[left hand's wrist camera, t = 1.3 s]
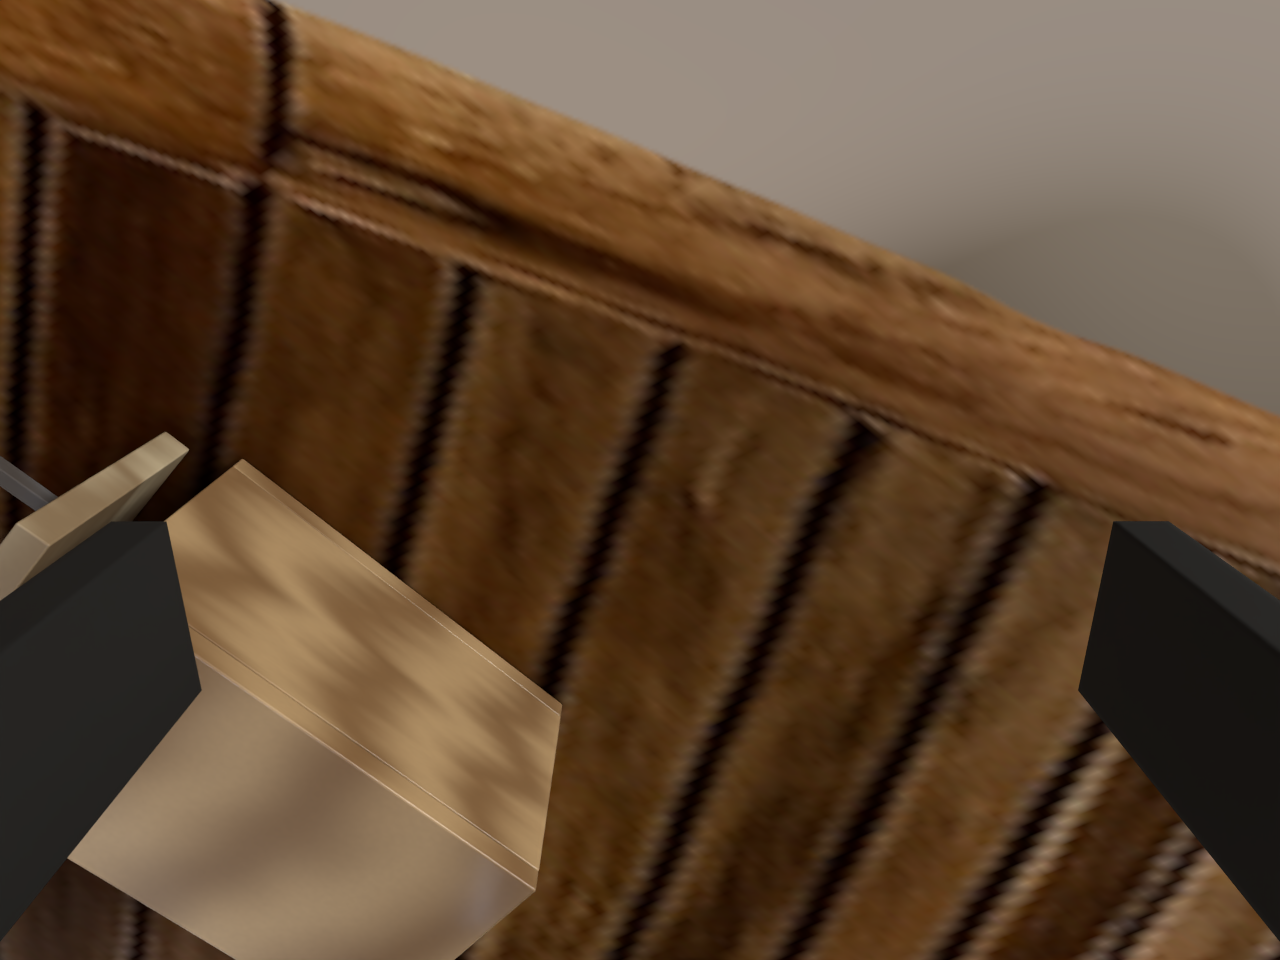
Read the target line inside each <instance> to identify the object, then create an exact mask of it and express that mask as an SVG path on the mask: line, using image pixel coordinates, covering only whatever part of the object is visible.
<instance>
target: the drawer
mask: <svg viewBox="0 0 1280 960" xmlns="http://www.w3.org/2000/svg"><path fill="white" fill-rule="evenodd" d="M188 451H189V449H188V448H187V447H185V446H184V445H183V444H182V443H180V442H179V441H178V440H176V439H175V438H174V437H172V436H171V435H170V434H168V433H167V432H164V433H162V434H160V435H159V436H157V437H155V438H154V439H152V440H151V441H149V442H147V443H146V444H144V445H142V446H141V447H139V448H138V449H136V450H134V451H133V452H131V453H129V454H128V455H126V456H125V457H123V458H121V459H120V460H118V461H116V462H115V463H113V464H112V465H110V466H108V467H107V468H105V469H103V470H102V471H100V472H99V473H97V474H95V475H94V476H92V477H90V478H89V479H87V480H85V481H84V482H82V483H81V484H79V485H77V486H76V487H74V488H72V489H71V490H69V491H68V492H66V493H64V494H63V495H61V496H59V497H57V496H56V495H54V494H53V493H52V492H50V491H49V490H47V489H46V488H45V487H43V486H42V485H40V484H39V483H38V482H36V481H35V480H33V479H32V478H31V477H29V476H28V475H26V474H25V473H24V472H22V471H21V470H19V469H18V468H17V467H15V466H14V465H12V464H11V463H10V462H8V461H7V460H5V459H4V458H3V457H1V456H0V486H1V487H2V488H4V489H5V490H7V491H8V492H9V493H11V494H12V495H14V496H15V497H16V498H18V499H19V500H21V501H22V502H24V503H25V504H26V505H28V506H29V507H31V508H32V509H34V510H35V512H33V513H32V514H30V515H29V516H27V517H25V518H24V519H22V520H20V521H19V522H17V523H16V524H15V525H14V527H13V528H12V529H11V531H10V532H9V533H8V535H7V536H6V537H5V539H4V540H3V541H2V543H1V544H0V600H2V599H3V598H5V597H6V596H7V595H9V594H10V593H12V592H13V591H14V590H16V589H17V588H19V587H20V586H21V585H23V584H24V583H26V582H27V581H28V580H30V579H31V578H33V577H34V576H35V575H37V574H38V573H40V572H41V571H43V570H44V569H45V568H47V567H48V566H50V565H51V564H52V563H54V562H55V561H57V560H58V559H59V558H61V557H62V556H64V555H65V554H66V553H68V552H69V551H71V550H72V549H73V548H75V547H76V546H78V545H79V544H80V543H82V542H83V541H85V540H86V539H87V538H89V537H90V536H92V535H93V534H94V533H96V532H97V531H99V530H100V529H101V528H103V527H104V526H106V525H107V524H108V523H110V522H111V521H133V520H134V519H135V517H136V516H137V515H138V514H139V512H140V511H141V510H142V509H143V507H144V506H145V505H146V504H147V502H148V501H149V500H150V499H151V497H152V496H153V495H154V494H155V492H156V491H157V490H158V489H159V487H160V486H161V485H162V484H163V482H164V481H165V480H166V479H167V477H168V476H169V475H170V474H171V472H172V471H173V470H174V469H175V467H176V466H177V465H178V464H179V462H180V461H181V460H182V459H183V457H184V456H185V455H186V454H187V452H188Z"/></svg>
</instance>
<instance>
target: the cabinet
mask: <svg viewBox="0 0 1280 960" xmlns="http://www.w3.org/2000/svg"><path fill="white" fill-rule="evenodd" d="M165 521H167V526H168V531H169V535H170V540H171V545H172V550H173V555H174V559H175V564H176V569H177V574H178V579H179V583H180V588H181V593H182V598H183V602H184V607H185V612H186V617H187V622H188V626H189V631H190V636H191V641H192V646H193V650H194V655H195V660H196V665H197V670H198V674H199V679H200V684H201V689H202V691H201V692H200V693H199V695H198V696H197V697H196V698H195V700H194V701H193V702H192V703H191V704H190V706H189V707H188V708H187V709H186V711H185V712H184V713H183V714H182V716H181V717H180V718H179V719H178V721H177V722H176V723H175V724H174V726H173V727H172V728H171V729H170V731H169V732H168V733H167V734H166V736H165V737H164V738H163V739H162V741H161V742H160V743H159V744H158V746H157V747H156V748H155V749H154V751H153V752H152V753H151V754H150V756H149V757H148V758H147V759H146V761H145V762H144V763H143V764H142V766H141V767H140V768H139V769H138V771H137V772H136V773H135V774H134V775H133V777H132V778H131V779H130V780H129V782H128V783H127V784H126V785H125V787H124V788H123V789H122V790H121V792H120V793H119V794H118V795H117V797H116V798H115V799H114V800H113V802H112V803H111V804H110V805H109V807H108V808H107V809H106V810H105V812H104V813H103V814H102V815H101V817H100V818H99V819H98V820H97V822H96V823H95V824H94V825H93V827H92V828H91V829H90V830H89V832H88V833H87V834H86V835H85V837H84V838H83V839H82V840H81V841H80V843H79V844H78V845H77V846H76V848H75V849H74V850H73V851H72V853H71V854H70V855H69V856H68V859H69V860H71V861H73V862H74V863H76V864H78V865H79V866H81V867H83V868H84V869H86V870H88V871H89V872H91V873H93V874H94V875H96V876H98V877H99V878H101V879H103V880H104V881H106V882H108V883H109V884H111V885H113V886H114V887H116V888H117V889H119V890H121V891H122V892H124V893H126V894H127V895H129V896H131V897H132V898H134V899H136V900H137V901H139V902H141V903H142V904H144V905H146V906H147V907H149V908H151V909H152V910H154V911H156V912H157V913H159V914H161V915H162V916H164V917H166V918H167V919H169V920H171V921H172V922H174V923H176V924H177V925H179V926H181V927H182V928H184V929H186V930H187V931H189V932H191V933H192V934H194V935H196V936H197V937H199V938H201V939H202V940H204V941H206V942H207V943H209V944H211V945H212V946H214V947H216V948H217V949H219V950H221V951H222V952H224V953H226V954H227V955H229V956H231V957H232V958H234V959H236V960H455V959H456V958H457V957H458V956H459V955H460V954H462V953H463V952H464V951H465V950H466V949H468V948H469V947H470V946H471V945H472V944H473V943H475V942H476V941H477V940H478V939H479V938H481V937H482V936H483V935H484V934H485V933H486V932H488V931H489V930H490V929H491V928H492V927H494V926H495V925H496V924H497V923H498V922H499V921H501V920H502V919H503V918H504V917H505V916H507V915H508V914H509V913H510V912H511V911H512V910H514V909H515V908H516V907H517V906H518V905H520V904H521V903H522V902H523V901H524V900H525V899H527V898H528V897H529V896H530V895H531V894H532V893H534V892H535V890H536V885H537V877H538V871H539V866H540V859H541V852H542V845H543V837H544V830H545V823H546V816H547V809H548V802H549V795H550V788H551V781H552V774H553V767H554V760H555V753H556V746H557V739H558V731H559V724H560V716H561V710H562V704H561V703H560V702H558V701H557V700H556V699H554V698H553V697H552V696H550V695H549V694H548V693H547V692H545V691H544V690H543V689H541V688H540V687H539V686H537V685H536V684H535V683H534V682H532V681H531V680H530V679H528V678H527V677H526V676H524V675H523V674H522V673H521V672H519V671H518V670H517V669H515V668H514V667H513V666H511V665H510V664H509V663H508V662H506V661H505V660H504V659H502V658H501V657H500V656H498V655H497V654H496V653H495V652H493V651H492V650H491V649H489V648H488V647H487V646H485V645H484V644H483V643H482V642H480V641H479V640H478V639H476V638H475V637H474V636H472V635H471V634H470V633H469V632H467V631H466V630H465V629H463V628H462V627H461V626H459V625H458V624H457V623H456V622H454V621H453V620H452V619H450V618H449V617H448V616H446V615H445V614H444V613H443V612H441V611H440V610H439V609H437V608H436V607H435V606H433V605H432V604H431V603H430V602H428V601H427V600H426V599H424V598H423V597H422V596H420V595H419V594H418V593H417V592H415V591H414V590H413V589H411V588H410V587H409V586H407V585H406V584H405V583H404V582H402V581H401V580H400V579H398V578H397V577H396V576H394V575H393V574H392V573H391V572H389V571H388V570H387V569H385V568H384V567H383V566H381V565H380V564H379V563H378V562H376V561H375V560H374V559H372V558H371V557H370V556H368V555H367V554H366V553H365V552H363V551H362V550H361V549H359V548H358V547H357V546H356V545H354V544H353V543H352V542H350V541H349V540H348V539H346V538H345V537H344V536H343V535H341V534H340V533H339V532H337V531H336V530H335V529H333V528H332V527H331V526H330V525H328V524H327V523H326V522H324V521H323V520H322V519H320V518H319V517H318V516H317V515H315V514H314V513H313V512H311V511H310V510H309V509H307V508H306V507H305V506H304V505H302V504H301V503H300V502H298V501H297V500H296V499H294V498H293V497H292V496H291V495H289V494H288V493H287V492H285V491H284V490H283V489H281V488H280V487H279V486H278V485H276V484H275V483H274V482H272V481H271V480H270V479H268V478H267V477H266V476H265V475H263V474H262V473H261V472H259V471H258V470H257V469H255V468H254V467H253V466H252V465H250V464H249V463H248V462H246V461H245V460H244V459H241V460H240V461H238V462H237V463H236V464H235V465H233V466H232V467H231V468H230V469H228V470H227V471H226V472H225V473H223V474H222V475H221V476H220V477H218V478H217V479H216V480H215V481H213V482H212V483H211V484H210V485H208V486H207V487H206V488H205V489H203V490H202V491H201V492H200V493H198V494H197V495H196V496H195V497H193V498H192V499H191V500H190V501H188V502H187V503H186V504H185V505H183V506H182V507H181V508H180V509H178V510H177V511H176V512H175V513H173V514H172V515H171V516H170V517H168V518H167V519H166V520H165Z"/></svg>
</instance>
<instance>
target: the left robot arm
mask: <svg viewBox="0 0 1280 960" xmlns="http://www.w3.org/2000/svg"><path fill="white" fill-rule="evenodd" d="M201 691H202V689H201V684H200V679H199V674H198V670H197V665H196V660H195V655H194V650H193V646H192V641H191V636H190V631H189V626H188V622H187V617H186V612H185V607H184V602H183V598H182V593H181V588H180V583H179V579H178V574H177V569H176V564H175V559H174V555H173V550H172V545H171V540H170V535H169V531H168V526H167V521H111V522H110V523H108V524H107V525H106V526H104V527H103V528H101V529H100V530H99V531H97V532H96V533H94V534H93V535H92V536H90V537H89V538H87V539H86V540H85V541H83V542H82V543H80V544H79V545H78V546H76V547H75V548H73V549H72V550H71V551H69V552H68V553H66V554H65V555H64V556H62V557H61V558H59V559H58V560H57V561H55V562H54V563H52V564H51V565H50V566H48V567H47V568H45V569H44V570H43V571H41V572H40V573H38V574H37V575H35V576H34V577H33V578H31V579H30V580H28V581H27V582H26V583H24V584H23V585H21V586H20V587H19V588H17V589H16V590H14V591H13V592H12V593H10V594H9V595H7V596H6V597H5V598H3V599H2V600H0V941H1V940H2V939H3V937H4V936H5V935H6V934H7V932H8V931H9V930H10V929H11V927H12V926H13V925H14V924H15V922H16V921H17V920H18V919H19V917H20V916H21V915H22V914H23V912H24V911H25V910H26V909H27V908H28V906H29V905H30V904H31V903H32V901H33V900H34V899H35V898H36V896H37V895H38V894H39V893H40V891H41V890H42V889H43V888H44V886H45V885H46V884H47V883H48V881H49V880H50V879H51V878H52V876H53V875H54V874H55V873H56V871H57V870H58V869H59V868H60V866H61V865H62V864H63V863H64V861H65V860H66V859H67V858H68V856H69V855H70V854H71V853H72V851H73V850H74V849H75V848H76V846H77V845H78V844H79V843H80V841H81V840H82V839H83V838H84V837H85V835H86V834H87V833H88V832H89V830H90V829H91V828H92V827H93V825H94V824H95V823H96V822H97V820H98V819H99V818H100V817H101V815H102V814H103V813H104V812H105V810H106V809H107V808H108V807H109V805H110V804H111V803H112V802H113V800H114V799H115V798H116V797H117V795H118V794H119V793H120V792H121V790H122V789H123V788H124V787H125V785H126V784H127V783H128V782H129V780H130V779H131V778H132V777H133V775H134V774H135V773H136V772H137V771H138V769H139V768H140V767H141V766H142V764H143V763H144V762H145V761H146V759H147V758H148V757H149V756H150V754H151V753H152V752H153V751H154V749H155V748H156V747H157V746H158V744H159V743H160V742H161V741H162V739H163V738H164V737H165V736H166V734H167V733H168V732H169V731H170V729H171V728H172V727H173V726H174V724H175V723H176V722H177V721H178V719H179V718H180V717H181V716H182V714H183V713H184V712H185V711H186V709H187V708H188V707H189V706H190V704H191V703H192V702H193V701H194V700H195V698H196V697H197V696H198V695H199V693H200V692H201ZM1078 691H1079V692H1080V693H1081V695H1082V696H1083V697H1084V698H1085V700H1086V701H1087V702H1088V703H1089V704H1090V706H1091V707H1092V708H1093V709H1094V711H1095V712H1096V713H1097V714H1098V716H1099V717H1100V718H1101V719H1102V721H1103V722H1104V723H1105V724H1106V726H1107V727H1108V728H1109V729H1110V731H1111V732H1112V733H1113V734H1114V736H1115V737H1116V738H1117V739H1118V741H1119V742H1120V743H1121V744H1122V746H1123V747H1124V748H1125V749H1126V751H1127V752H1128V753H1129V754H1130V756H1131V757H1132V758H1133V759H1134V761H1135V762H1136V763H1137V764H1138V766H1139V767H1140V768H1141V769H1142V771H1143V772H1144V773H1145V774H1146V775H1147V777H1148V778H1149V779H1150V780H1151V782H1152V783H1153V784H1154V785H1155V787H1156V788H1157V789H1158V790H1159V792H1160V793H1161V794H1162V795H1163V797H1164V798H1165V799H1166V800H1167V802H1168V803H1169V804H1170V805H1171V807H1172V808H1173V809H1174V810H1175V812H1176V813H1177V814H1178V815H1179V817H1180V818H1181V819H1182V820H1183V822H1184V823H1185V824H1186V825H1187V827H1188V828H1189V829H1190V830H1191V832H1192V833H1193V834H1194V835H1195V837H1196V838H1197V839H1198V840H1199V842H1200V843H1201V844H1202V845H1203V846H1204V848H1205V849H1206V850H1207V851H1208V853H1209V854H1210V855H1211V856H1212V858H1213V859H1214V860H1215V861H1216V863H1217V864H1218V865H1219V866H1220V868H1221V869H1222V870H1223V871H1224V873H1225V874H1226V875H1227V876H1228V878H1229V879H1230V880H1231V881H1232V883H1233V884H1234V885H1235V886H1236V888H1237V889H1238V890H1239V891H1240V893H1241V894H1242V895H1243V896H1244V898H1245V899H1246V900H1247V901H1248V903H1249V904H1250V905H1251V906H1252V908H1253V909H1254V910H1255V911H1256V912H1257V914H1258V915H1259V916H1260V917H1261V919H1262V920H1263V921H1264V922H1265V924H1266V925H1267V926H1268V927H1269V929H1270V930H1271V931H1272V932H1273V934H1274V935H1275V936H1276V937H1277V939H1278V940H1279V941H1280V600H1278V599H1277V598H1275V597H1274V596H1273V595H1271V594H1270V593H1268V592H1267V591H1266V590H1264V589H1263V588H1261V587H1260V586H1259V585H1257V584H1256V583H1254V582H1253V581H1252V580H1250V579H1249V578H1247V577H1246V576H1245V575H1243V574H1242V573H1240V572H1239V571H1237V570H1236V569H1235V568H1233V567H1232V566H1230V565H1229V564H1228V563H1226V562H1225V561H1223V560H1222V559H1221V558H1219V557H1218V556H1216V555H1215V554H1214V553H1212V552H1211V551H1209V550H1208V549H1207V548H1205V547H1204V546H1202V545H1201V544H1200V543H1198V542H1197V541H1195V540H1194V539H1193V538H1191V537H1190V536H1188V535H1187V534H1186V533H1184V532H1183V531H1181V530H1180V529H1179V528H1177V527H1176V526H1174V525H1173V524H1172V523H1170V522H1169V521H1113V526H1112V531H1111V535H1110V540H1109V545H1108V550H1107V555H1106V559H1105V564H1104V569H1103V574H1102V579H1101V583H1100V588H1099V593H1098V598H1097V602H1096V607H1095V612H1094V617H1093V622H1092V626H1091V631H1090V636H1089V641H1088V646H1087V650H1086V655H1085V660H1084V665H1083V670H1082V674H1081V679H1080V684H1079V689H1078Z"/></svg>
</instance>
